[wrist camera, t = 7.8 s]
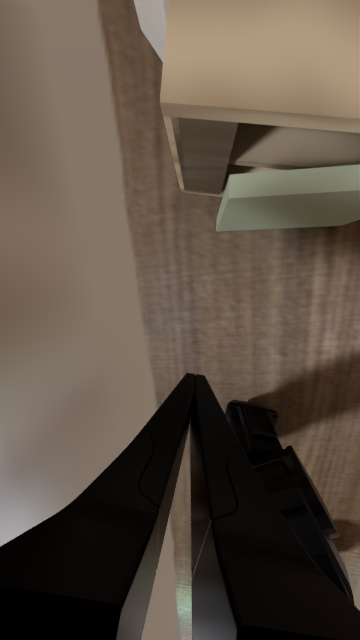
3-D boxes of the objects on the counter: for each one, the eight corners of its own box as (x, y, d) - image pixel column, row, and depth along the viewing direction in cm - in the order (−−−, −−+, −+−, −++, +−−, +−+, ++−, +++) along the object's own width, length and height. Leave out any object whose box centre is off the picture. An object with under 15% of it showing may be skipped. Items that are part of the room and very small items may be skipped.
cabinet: (343, 210, 18) (524, 132, 8) (181, 192, 19) (159, 102, 9) (383, 91, 15) (717, -240, 5) (195, 78, 16) (187, -217, 6)
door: (341, 225, 18) (468, 183, 9) (216, 231, 19) (228, 198, 11) (343, 212, 17) (477, 155, 9) (216, 218, 19) (229, 174, 10)
